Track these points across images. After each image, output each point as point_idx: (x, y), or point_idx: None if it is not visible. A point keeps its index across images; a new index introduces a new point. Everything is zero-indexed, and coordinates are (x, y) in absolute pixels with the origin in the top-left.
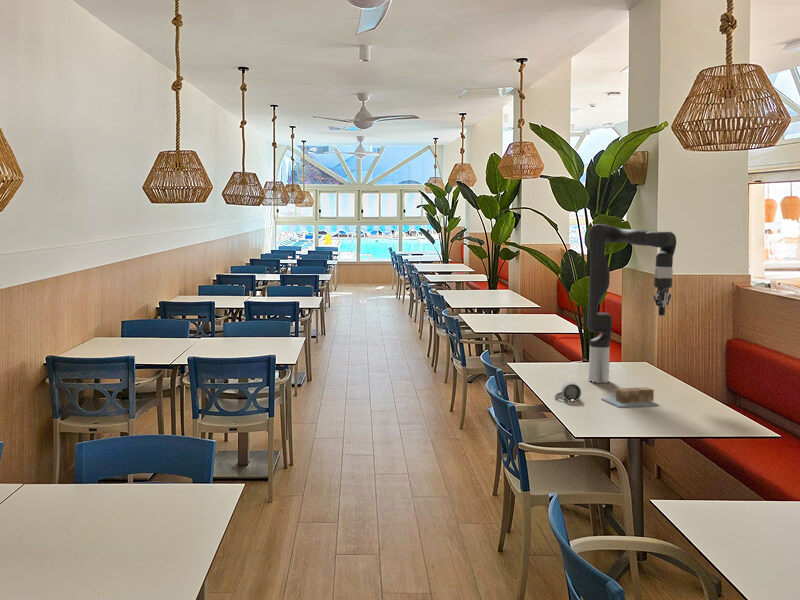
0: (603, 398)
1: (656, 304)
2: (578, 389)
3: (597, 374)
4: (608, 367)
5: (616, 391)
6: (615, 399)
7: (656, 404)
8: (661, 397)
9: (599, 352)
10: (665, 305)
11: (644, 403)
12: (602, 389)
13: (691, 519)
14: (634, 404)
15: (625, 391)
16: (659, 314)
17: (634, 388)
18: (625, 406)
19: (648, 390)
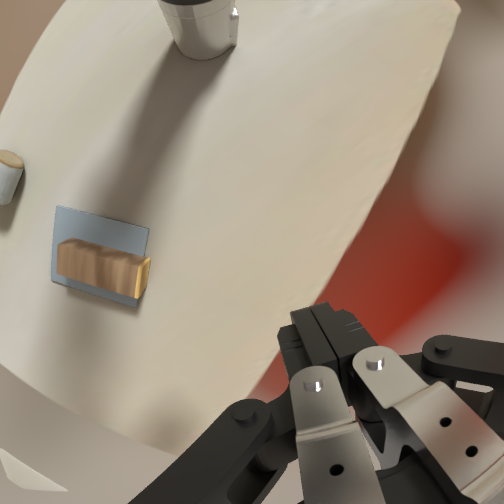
0: (59, 210)
1: (215, 427)
2: (4, 190)
3: (176, 42)
4: (215, 38)
5: (61, 243)
6: (75, 230)
7: (134, 306)
8: (207, 259)
9: (164, 10)
10: (370, 422)
11: (110, 291)
12: (133, 114)
13: (7, 460)
14: (85, 286)
15: (62, 275)
16: (293, 321)
17: (98, 265)
18: (64, 283)
19: (122, 293)
